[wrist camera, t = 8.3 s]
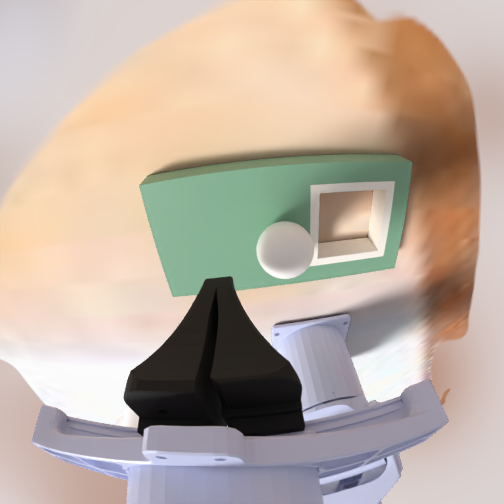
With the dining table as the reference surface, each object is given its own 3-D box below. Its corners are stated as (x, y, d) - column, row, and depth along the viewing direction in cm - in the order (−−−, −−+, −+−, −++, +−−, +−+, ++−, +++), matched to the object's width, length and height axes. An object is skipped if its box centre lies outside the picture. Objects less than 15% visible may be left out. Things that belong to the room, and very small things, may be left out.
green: (384, 254, 22) (394, 268, 21) (176, 280, 22) (172, 296, 20) (397, 154, 17) (412, 162, 16) (147, 175, 17) (139, 185, 15)
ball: (261, 251, 19) (311, 255, 19) (252, 287, 17) (310, 293, 16) (260, 208, 17) (316, 212, 17) (250, 242, 15) (317, 248, 14)
